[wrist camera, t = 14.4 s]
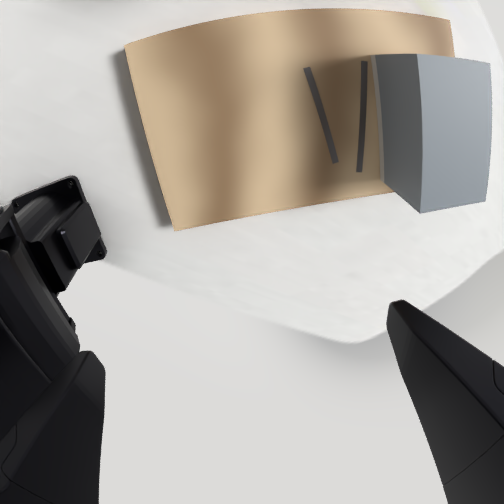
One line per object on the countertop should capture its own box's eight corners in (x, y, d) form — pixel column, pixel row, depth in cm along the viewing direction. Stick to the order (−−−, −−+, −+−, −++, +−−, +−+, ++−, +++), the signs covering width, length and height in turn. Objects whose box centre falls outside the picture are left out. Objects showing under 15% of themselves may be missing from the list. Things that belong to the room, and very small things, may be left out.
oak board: (177, 222, 21) (174, 231, 20) (130, 46, 14) (124, 45, 13) (446, 178, 20) (455, 184, 19) (439, 20, 14) (450, 20, 13)
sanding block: (380, 179, 19) (420, 213, 14) (370, 54, 14) (416, 53, 10) (440, 171, 18) (485, 201, 14) (437, 58, 14) (489, 63, 10)
